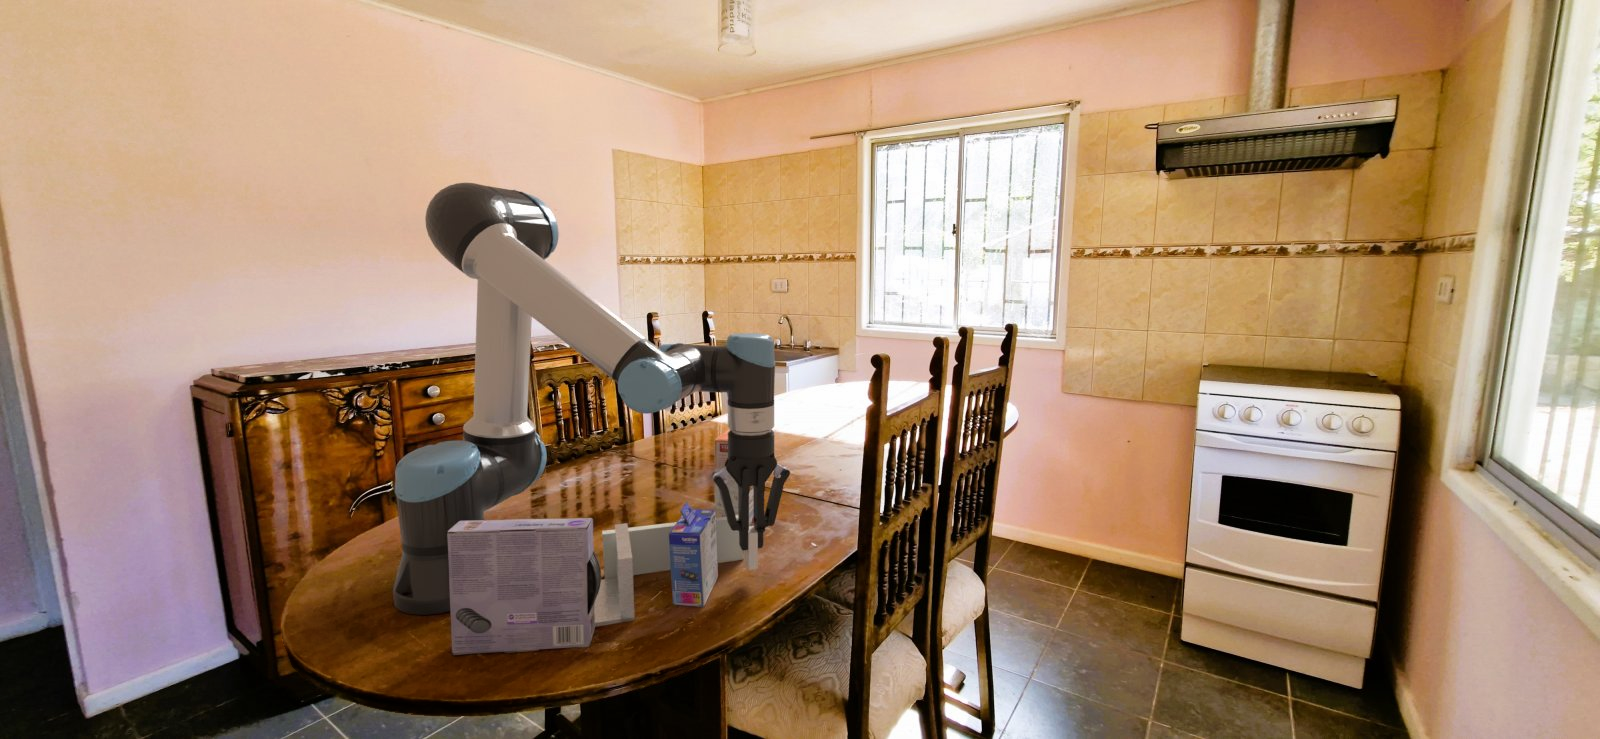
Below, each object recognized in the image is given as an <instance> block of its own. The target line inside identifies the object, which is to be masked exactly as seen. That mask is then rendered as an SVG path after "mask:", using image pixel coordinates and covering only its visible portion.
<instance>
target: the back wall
mask: <svg viewBox="0 0 1600 739" xmlns="http://www.w3.org/2000/svg"><path fill="white" fill-rule="evenodd" d="M735 516H736V520H738V515H735ZM677 522H678V521H675V522H666V523H658V524H649V525H642V526H641V525H639V526H633V527H628V531H629V538H630V545H631V552H632V563H633V576H637V575H643V574H650V573H651V574H652V573H658V572H664V571H671V564H670V547H669V533H670V531H671V530H672V528H673V527H674V526H675V524H676V523H677ZM601 532H602V533H601V534H602V550H603V551H602V553H603V554H602V555H603V556H602V557H603V573H604V575H603V576H604V579H611V578H617V565H616V541H615V528H614V529H607V530H602V531H601ZM716 538H717V564H721V563H727V562H728V563H729V562H735V561H742V560H744V550H743V551H742V549H741V547H740V545H739V531H737V530H736V531H733V530H732V529H731V528H730V526H729V524H728V521H727V517H726V516H724V517H716ZM604 579H603V580H604Z"/></svg>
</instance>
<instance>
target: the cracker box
mask: <svg viewBox="0 0 1600 739" xmlns="http://www.w3.org/2000/svg"><path fill="white" fill-rule="evenodd" d="M729 431H730V429H729V428H727V429H726V430H725V431H724V432H722V433H721V434H720V435H719V436H718V437H717V438H715V439H714V472H717V473H718V472H719V471H720V470H722V469H723V468H724V467H725V462H726V460H727V458H728V432H729ZM726 485H727V487H728V490H729V493H730V497H731V501H732V505H733V509H734V512H735V515H738V484H737V483H736V481H735V480H734V479H733V478H732V476H731V475H730V474H728V482H727V483H726ZM714 510H715V516H716V517H724V516H726V514H725V510H724V506H723V502H722V499H721V495H720V491H719V488H718V486H717V485H716V483H715V482H714ZM749 526H754V507H753V486H750V493H749Z"/></svg>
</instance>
